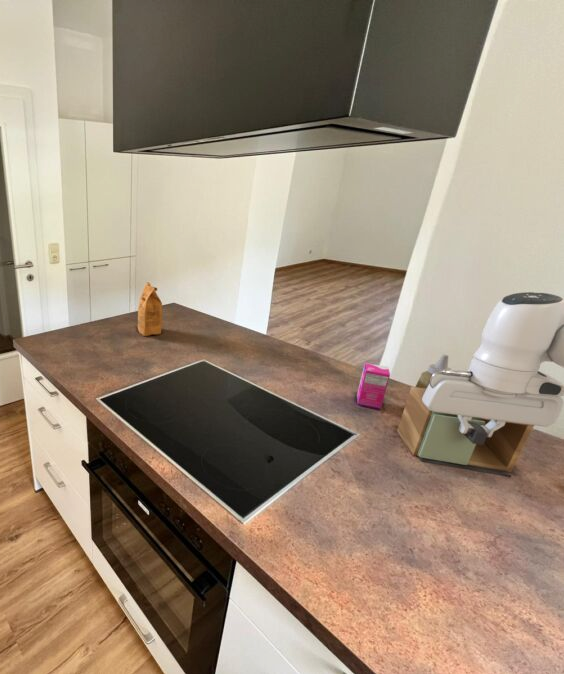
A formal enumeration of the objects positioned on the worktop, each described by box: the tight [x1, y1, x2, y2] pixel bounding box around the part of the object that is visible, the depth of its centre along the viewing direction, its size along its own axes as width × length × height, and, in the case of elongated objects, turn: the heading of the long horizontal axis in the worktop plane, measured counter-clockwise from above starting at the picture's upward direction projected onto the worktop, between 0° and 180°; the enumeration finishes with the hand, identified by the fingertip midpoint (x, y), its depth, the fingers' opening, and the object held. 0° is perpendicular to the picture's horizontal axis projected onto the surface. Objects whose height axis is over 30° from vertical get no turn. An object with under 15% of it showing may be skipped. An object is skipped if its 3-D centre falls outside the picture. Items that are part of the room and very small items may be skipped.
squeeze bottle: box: [414, 353, 452, 389], centre depth 96 cm, size 8×8×18 cm
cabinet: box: [396, 386, 535, 478], centre depth 83 cm, size 18×12×13 cm, turn 72°
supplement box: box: [356, 362, 391, 411], centre depth 103 cm, size 6×6×12 cm
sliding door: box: [418, 414, 488, 465], centre depth 77 cm, size 9×5×11 cm, turn 72°
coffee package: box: [137, 281, 163, 337], centre depth 159 cm, size 10×12×22 cm
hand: (474, 433), depth 75 cm, fingers closed on sliding door, 2 cm apart
